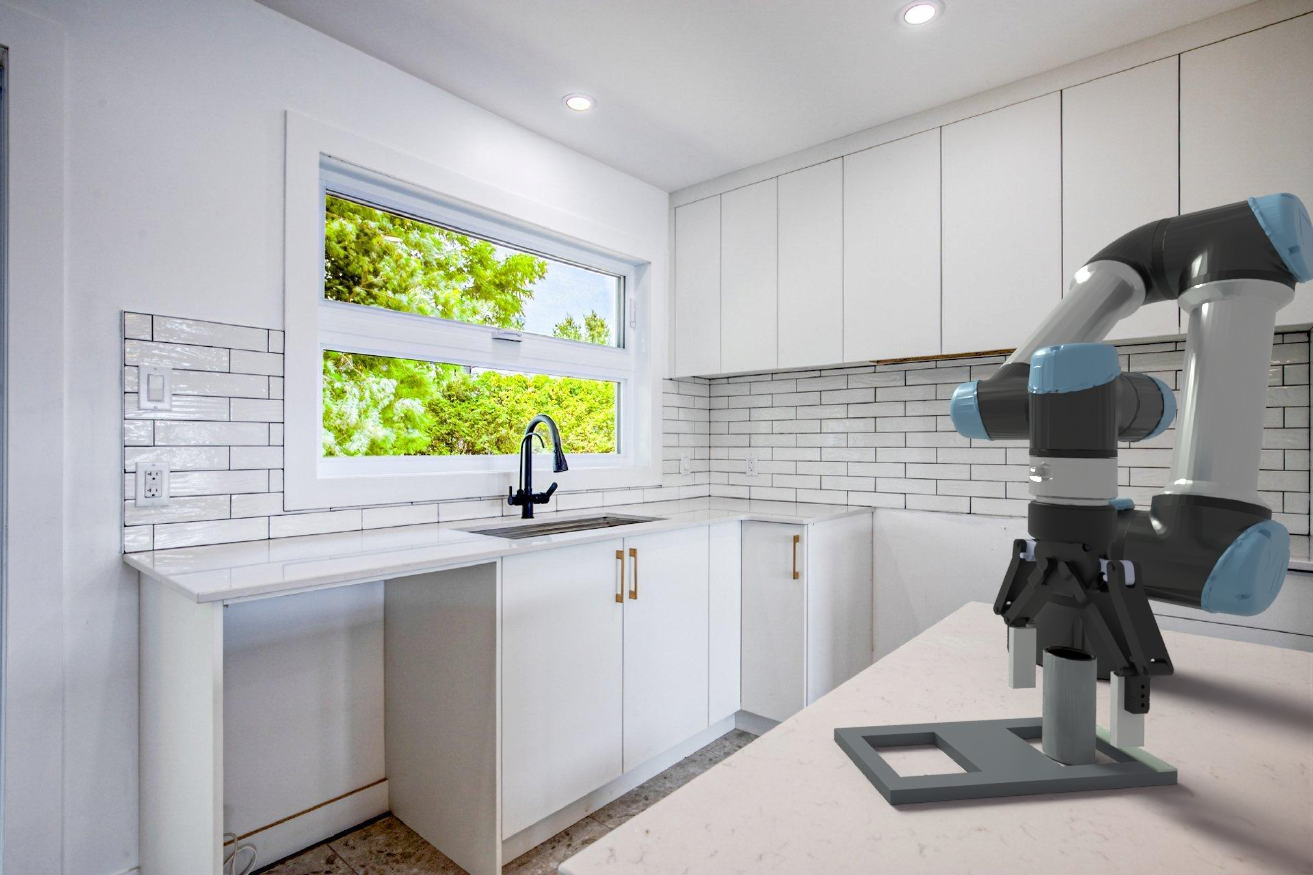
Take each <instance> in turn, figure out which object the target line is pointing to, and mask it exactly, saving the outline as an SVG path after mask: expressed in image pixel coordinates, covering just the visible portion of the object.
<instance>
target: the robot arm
mask: <svg viewBox="0 0 1313 875" xmlns="http://www.w3.org/2000/svg"><path fill="white" fill-rule="evenodd" d="M1312 223H1313V222H1312V220H1311V217H1310V214H1309V212H1308V210H1307V207H1306V206H1305V204H1304V203H1303V201H1302V200H1301V199H1300V198H1299V197H1298V196H1296V195H1295V194H1292V193H1290V192H1278V193H1277V192H1276V193H1273V194H1268V195H1263V196H1257V197H1254V196H1250V197H1247V198H1246V199H1245V200H1241V201H1236V202H1232V203H1228V204H1224V205H1220V206H1215V207H1210V208H1206V209H1201V210H1198V211H1191V212H1188V213H1185V214H1180V215H1175V216H1172V217H1163V218H1161V219H1157V220H1154V221H1151V222H1147V223H1146V224H1143V225H1140V226H1138V227H1136V228H1134V229H1132V230H1130V231H1128V232H1127V233H1125V234H1123V235H1121V236H1119V237H1118V238H1116V239H1115V240H1114V241H1113V240H1112V242H1110V243H1109V244H1107V245H1106V246H1105V247H1104V248H1102V249H1100V250H1099V251H1098V252H1097V253H1096V254H1094V255H1093V256H1092V257H1091V258H1090V259H1088V260H1087V261H1086V263H1084V264H1083V265H1082V266H1081V267H1080V268H1079V269H1078V270H1077V271H1076V273H1075V274H1074V275H1073V277H1072V279H1071V280H1070V284H1069V288H1068V289H1069V291H1068V292H1067V293H1065V294H1066V295H1065V296H1063V298H1062V299H1061V300H1060V301H1058V303H1057V304H1056V306H1054V307H1053V308H1052V310H1051V311H1050V312H1049V313H1048V314H1047V315H1046V316H1045V317H1044V319H1043V320H1041V322H1040V323H1039V324H1038V325H1037V326H1036V327H1035V328H1034V329H1033V331H1032V332H1030V334H1029V335H1027V337H1026V338H1025V339H1024V340H1023V342H1022V343H1020V345H1019V346H1018V347H1017V348H1016V349H1015V350H1014V351H1013V353H1012V354H1011V355H1010V356H1009V357H1008V358H1007V359H1006V360H1005V361H1004V363H1003V364H1002V365H1001V366H1000V367H998V369H997V371H995V372H994V373H993V374H992V376H991V377H990V378H989V379H986V380H981V379H976V380H974V381H967V382H964V383H962V384H960V385H959V386H957V388H956V389H955V390H954V392H953V394H952V397H951V400H950V404H949V413H950V414H949V415H950V420H951V421H952V423H953V427H954V429H955V431H956V432H957V433H958V434H959V435H961V436H962V437H964V438H966V439H971V440H973V439H974V440H988V441H989V442H995V441H1029V448H1028V449H1029V450H1028V455H1029V456H1028V457H1029V463H1028V466H1029V467H1028V493H1029V494H1030V495H1031V496H1034V497H1035V499H1033V500H1030V501H1029V503H1027V533H1028V535H1029V536H1030V537H1031V538H1015V539H1014V540H1013V544H1012V553H1011V554H1012V555H1011V559H1010V562H1009V565H1008V567H1007V570H1006V571H1005V572H1006V573H1005V575H1004V577H1003V579H1002V580H1003V581H1002V583H1001V585H1000V589H999V590H998V594H997V596H996V598H995V601H994V604H993V606H992V611H993V613H994V615H996V616H1000V617H1002V618H1003V623H1004V624H1005V625H1006V626H1007V627H1006V628H1007V630H1006V632H1007V633H1006V634H1007V635H1006V642H1007V643H1006V648H1007V653H1008V687H1009V688H1011V689H1013V690H1014V689H1017V690H1018V689H1035V688H1036V687H1037V686H1036V685H1037V684H1036V681H1037V672H1036V671H1037V665H1040V666H1042V667H1043V649H1044V648H1045V647H1047V646H1067V647H1074V648H1078V649H1082V650H1085V651H1088V652H1090V653H1092V654H1094V655H1095V656H1096V657H1097V679H1104V680H1105V679H1107V680H1110V702H1109V703H1110V705H1109V708H1110V710H1109V711H1110V714H1109V716H1110V717H1109V719H1110V720H1109V721H1110V722H1109V731H1110V744H1111V745H1112V746H1114V747H1116V748H1126V747H1139V748H1141V747H1145V714H1148V713H1149V711H1150V708H1151V705H1150V704H1151V703H1150V702H1151V698H1150V697H1151V679H1152V678H1153V677H1168V676H1172V675H1174V673H1175V666H1174V664H1173V663H1172V662H1173V661H1172V659H1171V657H1170V654H1169V651H1168V649H1167V646H1166V643H1165V641H1164V638H1163V636H1162V634H1161V630H1160V628H1159V625H1158V623H1157V620H1156V617H1155V615H1154V612H1153V610H1152V607H1151V605H1150V601H1153V602H1158V603H1162V604H1168V605H1173V606H1178V607H1186V608H1190V609H1194V610H1199V611H1204V612H1206V613H1209V614H1224V615H1231V616H1237V617H1255V616H1258V615H1260V614H1261V613H1264V612H1265V611H1267V610H1268V609H1269V608H1270V607H1271V605H1272V604H1273V603H1274V602H1275V600H1276V599H1277V597H1278V595H1279V593H1280V592H1281V590H1282V587H1283V585H1284V582H1285V580H1286V579H1285V578H1286V577H1287V572H1288V568H1289V564H1290V556H1291V549H1290V545H1291V537H1290V533H1289V531H1288V530H1289V529H1288V528H1287V527H1286V526H1285V525H1284V524H1282V523H1280V522H1278V521H1276V520H1274V519H1272V518H1273V508H1272V506H1270V504H1268V502H1266V501H1265V500H1264V499H1263V498H1262V497H1260V496H1259V492H1258V485H1259V484H1258V483H1259V475H1260V468H1261V467H1260V466H1261V456H1262V448H1263V446H1262V445H1263V437H1264V429H1265V422H1266V421H1265V420H1266V419H1265V418H1266V410H1267V409H1266V408H1267V401H1268V400H1267V399H1268V392H1269V391H1268V390H1269V383H1270V382H1269V381H1270V374H1271V373H1270V372H1271V364H1272V353H1273V345H1274V344H1273V343H1274V336H1275V328H1276V327H1275V325H1276V317H1277V312H1279V311H1280V310H1282V309H1284V308H1285V307H1286V306H1288V305H1290V304H1291V303H1292V302H1293V301H1294V299H1295V295H1296V294H1295V292H1296V285H1297V284H1298V283H1299V284H1306V282H1309V281H1312V280H1313V224H1312ZM1174 300H1175V301H1176V303H1177V306H1178V307H1179V308H1180V309H1181V310H1182V311H1184V312H1185V313H1186V314H1188V316H1189V318H1188V323H1187V334H1186V340H1185V348H1184V357H1183V362H1182V364H1183V366H1182V372H1181V380H1180V389H1179V398H1178V404H1177V398H1176V396H1175V393H1174V392H1173V390H1172V388H1171V387H1170V386H1169V385H1168V384H1167V383H1166V382H1165V381H1163V380H1161V379H1159V378H1157V377H1156V376H1152V375H1149V374H1147V373H1143V372H1141V371H1122V367H1121V366H1120V358H1119V351H1118V349H1117V348H1116V346H1114V345H1112V344H1111V343H1103V341H1104V339H1105V338H1106V337H1107V336H1108V334H1109V333H1110V332H1111V331H1112V329H1113V328H1114V327H1115V326H1116V325H1117V323H1119V321H1121V320H1123V319H1126V318H1129V317H1130V316H1132V315H1133V314H1135V313H1136V312H1137V311H1138V310H1139V309H1140V308H1141V307H1143V306H1148V305H1150V304H1154V303H1159V302H1164V301H1165V302H1167V301H1174ZM1175 417H1176V421H1175V428H1174V434H1173V435H1174V437H1173V444H1172V445H1173V446H1172V452H1171V453H1172V454H1171V461H1170V469H1169V476H1168V483H1167V484H1166V486H1164V487H1162V488H1161V489H1159V490H1158V491H1156V492H1154V493H1153V494H1152V495H1151V503H1150V510H1143V509H1141V510H1140V509H1136V504H1135V503H1134V500H1133V499H1132V498H1130V497H1127V498H1126V497H1119V475H1118V474H1119V471H1118V470H1119V469H1118V468H1119V466H1118V465H1119V464H1118V462H1119V460H1118V459H1119V458H1118V457H1119V455H1118V454H1119V453H1118V448H1119V446H1118V445H1119V442H1121V443H1132V444H1134V443H1139V442H1141V441H1147V440H1150V439H1153V438H1156V437H1158V436H1159V435H1161V434H1162V433H1164V432H1165V431H1166V430H1168V429H1169V427H1170V426H1171V425H1172V423H1173V421H1174V420H1175Z"/></svg>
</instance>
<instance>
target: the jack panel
mask: <svg viewBox="0 0 1313 875" xmlns="http://www.w3.org/2000/svg"><path fill="white" fill-rule="evenodd" d="M1031 738H1032V739H1034V738H1042V716H1037V717H1018V718H1017V717H1016V718H998V719H996V718H995V719H981V720H980V719H979V720H964V721H961V720H960V721H946V722H945V721H943V722H925V723H922V722H921V723H909V724H907V723H905V724H903V723H902V724H889V725H887V724H886V725H885V724H884V725H869V726H852V727H834V728H833V740H834V742H835V743H836V744H837V745H838V746H839V747H840V749H842V751H843V752H844V753H845V754H846V755H847V756H848V758H849V759H850V760H851V761H852V762H853V764H854V765H855V766H856V767H857V768H858V769H859V770H860V772H861V773H862V774H863V775H864V776H865V777H866V778H867V780H868V781H869V782H870V783H871V784H872V785H873V787H875V789H876V790H877V791H878V792H879V793H880V795H882V796H883V798H884V799H885V800H886V801H887V802H888V804H889V805H897V804H898V805H899V804H900V805H901V804H913V803H925V802H926V803H927V802H939V801H942V802H943V801H954V800H969V799H970V800H971V799H983V798H997V797H1010V796H1013V797H1014V796H1025V795H1026V796H1027V795H1038V794H1039V795H1040V794H1053V793H1069V792H1080V791H1082V792H1083V791H1084V792H1085V791H1094V790H1107V789H1109V790H1110V789H1124V788H1136V787H1137V788H1138V787H1151V786H1152V787H1153V786H1154V787H1155V786H1166V785H1168V786H1169V785H1177V784H1178V774H1179V773H1178V772H1179V771H1178V770H1179V768H1177V767H1176V766H1174V765H1172V764H1170V763H1168V762H1167V761H1164V760H1163V759H1161V758H1159V757H1157V756H1155V755H1154V754H1152V753H1149V752H1148V751H1146V750H1144V749H1142V748H1141V747H1126V748H1116V747H1114V746H1112V745H1111V744H1110V730H1108V729H1106V728H1104V727H1103V726H1100V725H1098V724H1097V723H1096V750H1098V751H1100V752H1101V753H1102V754H1105V755H1107V756H1108V757H1110V758H1111V759H1113V760H1115V761H1117V762H1108V763H1094V764H1090V765H1062V764H1060V763H1058V761H1056V760H1054V759H1052V758H1050V757H1049V756H1047V755H1046V754H1045V753H1044V752H1042V751H1040V750H1039V749H1038V748H1036V747H1034V746H1033V745H1031V744H1030V743H1028V742H1027V741H1026V740H1024V739H1031ZM932 744H933V745H935V746H936V747H938V748H939V750H941V751H943V752H944V753H945V755H947V756H949V758H950V759H952V761H954V762H955V763H956V764H958V765H959V766H960V767H961V768H963V769H964V771H966V772H957V773H955V772H954V773H939V774H926V775H925V774H923V775H911V776H909V775H908V776H900V775H899V774H898V773H897V772H896V770H894V768H893V767H892V766H890V765H889V763H888V762H886V760H885V759H884V758H883V757H882V756H881V755H880V754H879V753H878V752H877V751H876V750H875V749H874V748H878V747H879V748H880V747H882V748H883V747H896V746H899V747H900V746H912V745H913V746H915V745H916V746H917V745H932Z"/></svg>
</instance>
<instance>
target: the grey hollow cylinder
mask: <svg viewBox="0 0 1313 875" xmlns="http://www.w3.org/2000/svg"><path fill="white" fill-rule="evenodd" d="M1097 681H1098V678H1097V657H1096V656H1095V655H1094V654H1092V653H1090V652H1088V651H1085V650H1082V649H1078V648H1074V647H1067V646H1047V647H1045V648H1044V649H1043V666H1042V707H1041V708H1042V710H1041V711H1042V714H1041V715H1042V716H1041V717H1042V737H1041V748H1042V751H1043V752H1042V753H1043V754H1045V755H1046V756H1048V757H1049V758H1051V759H1052V760H1054V761H1056V762H1059V763H1061V764H1062V763H1063V764H1066V765H1068V766H1075V765H1090V764H1096V759H1097V758H1096V757H1097V756H1096V755H1097V753H1096V752H1097V749H1096V724H1097V689H1098V688H1097V686H1098V685H1097Z"/></svg>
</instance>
